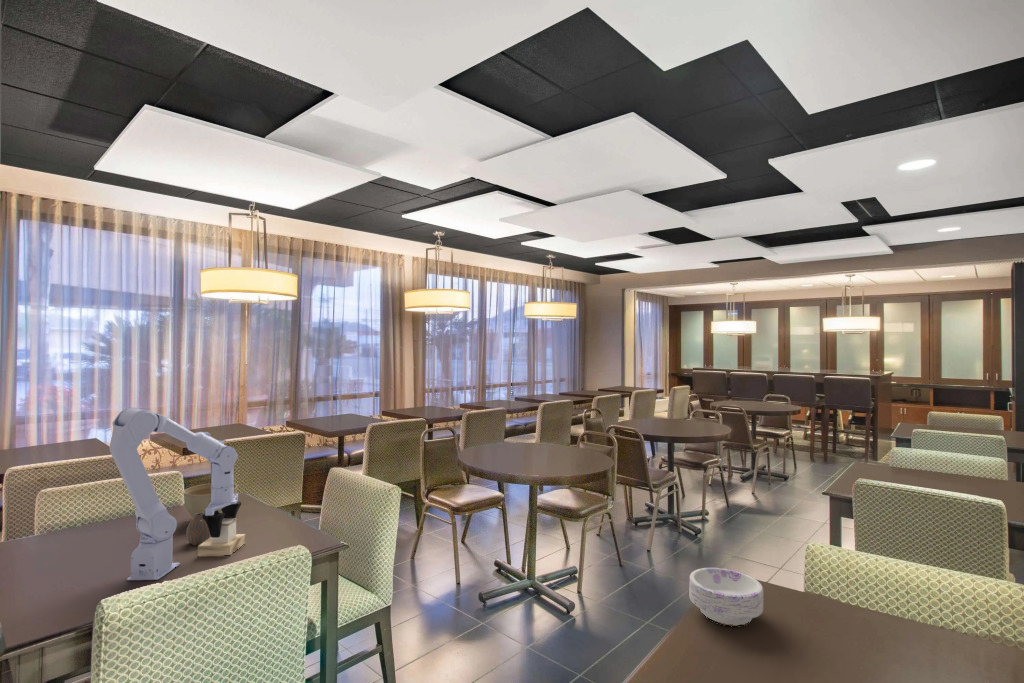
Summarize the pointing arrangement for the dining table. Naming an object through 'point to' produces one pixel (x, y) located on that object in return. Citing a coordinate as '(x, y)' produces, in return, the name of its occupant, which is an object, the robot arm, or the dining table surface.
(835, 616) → the dining table surface
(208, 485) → the planter bowl
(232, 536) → the framed cream cube
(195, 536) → the vase
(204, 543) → the block
